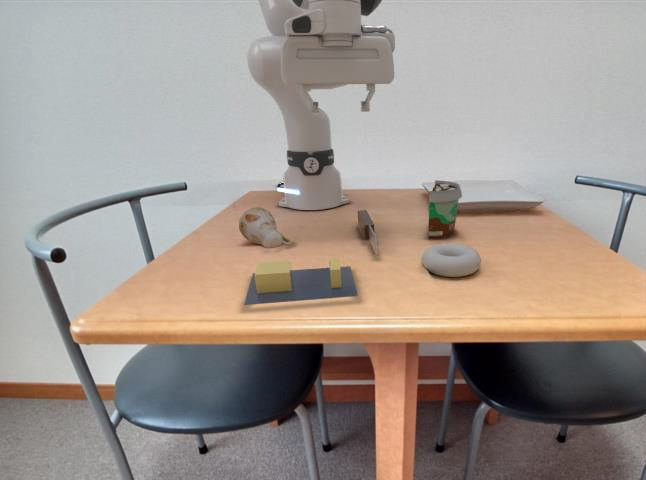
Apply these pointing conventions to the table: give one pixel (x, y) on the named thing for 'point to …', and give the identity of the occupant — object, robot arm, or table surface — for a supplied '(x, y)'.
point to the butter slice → (335, 273)
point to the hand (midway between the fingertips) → (340, 112)
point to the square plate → (492, 196)
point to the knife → (367, 228)
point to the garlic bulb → (261, 228)
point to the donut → (451, 260)
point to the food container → (443, 209)
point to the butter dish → (296, 284)
